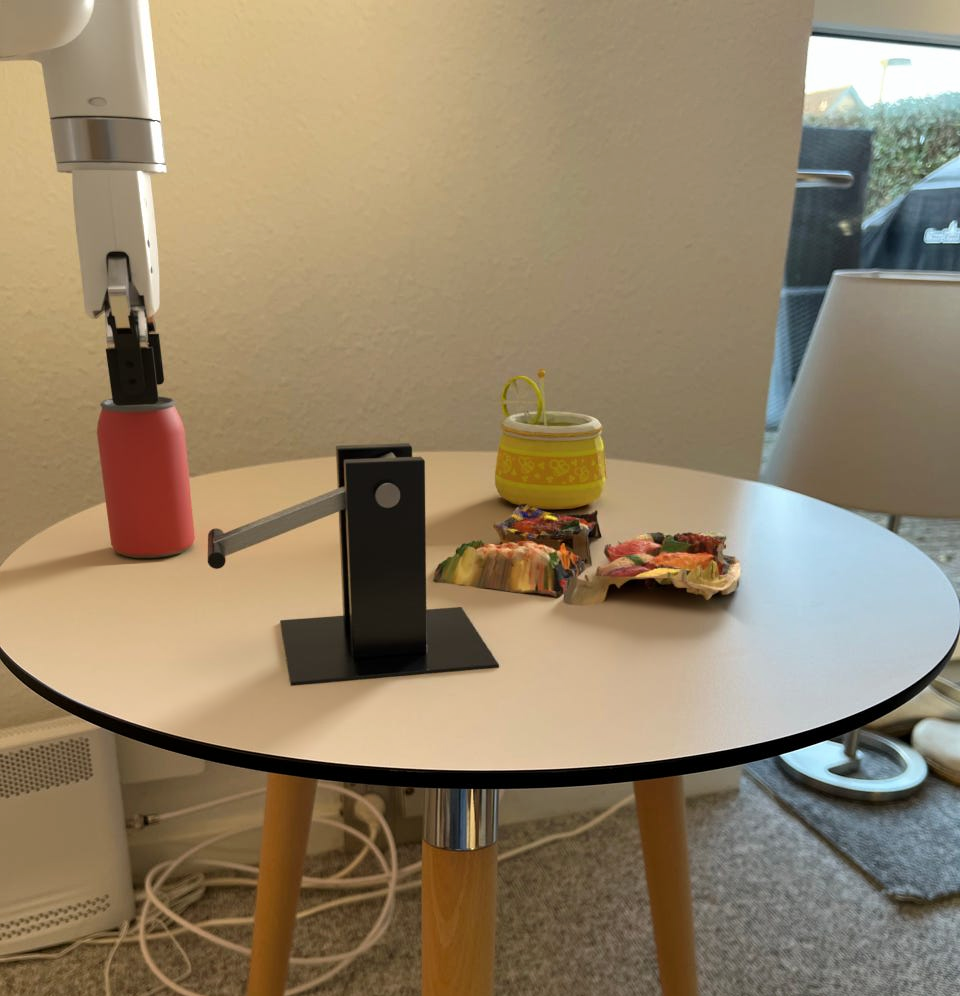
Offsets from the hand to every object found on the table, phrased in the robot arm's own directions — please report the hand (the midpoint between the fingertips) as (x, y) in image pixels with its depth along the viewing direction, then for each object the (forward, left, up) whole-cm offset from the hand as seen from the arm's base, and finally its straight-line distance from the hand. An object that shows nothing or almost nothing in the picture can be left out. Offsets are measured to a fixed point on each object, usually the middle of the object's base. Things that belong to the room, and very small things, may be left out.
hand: (140, 393), depth 79 cm
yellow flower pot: (+37, +10, -13) cm, 40 cm away
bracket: (+15, -27, -13) cm, 33 cm away
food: (+33, -15, -13) cm, 38 cm away
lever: (+11, -27, -4) cm, 30 cm away
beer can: (0, 0, -13) cm, 13 cm away
